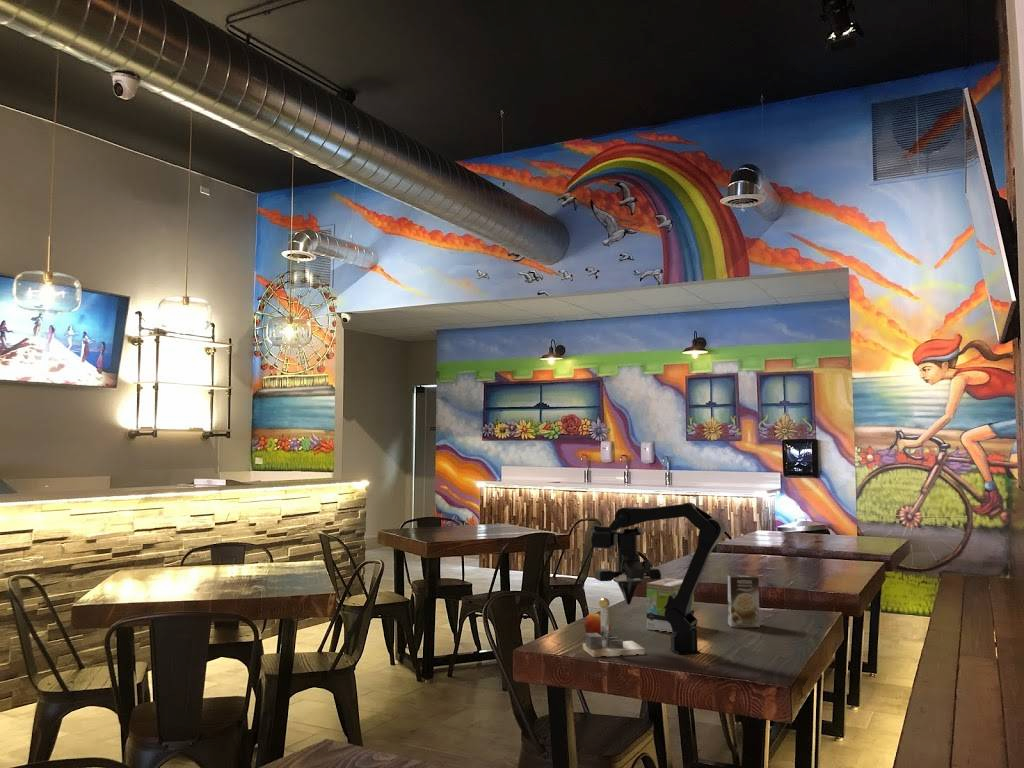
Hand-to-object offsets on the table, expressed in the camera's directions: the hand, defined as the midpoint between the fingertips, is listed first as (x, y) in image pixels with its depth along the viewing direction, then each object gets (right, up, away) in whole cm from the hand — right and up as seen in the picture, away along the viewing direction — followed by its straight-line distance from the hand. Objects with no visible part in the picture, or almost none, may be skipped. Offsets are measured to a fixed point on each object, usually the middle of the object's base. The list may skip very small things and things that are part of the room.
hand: (628, 604), depth 239 cm
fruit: (-8, -13, +12) cm, 19 cm away
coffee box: (+41, -14, +26) cm, 51 cm away
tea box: (+17, -14, +24) cm, 33 cm away
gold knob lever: (-9, -10, -8) cm, 15 cm away
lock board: (-5, -11, -7) cm, 14 cm away
